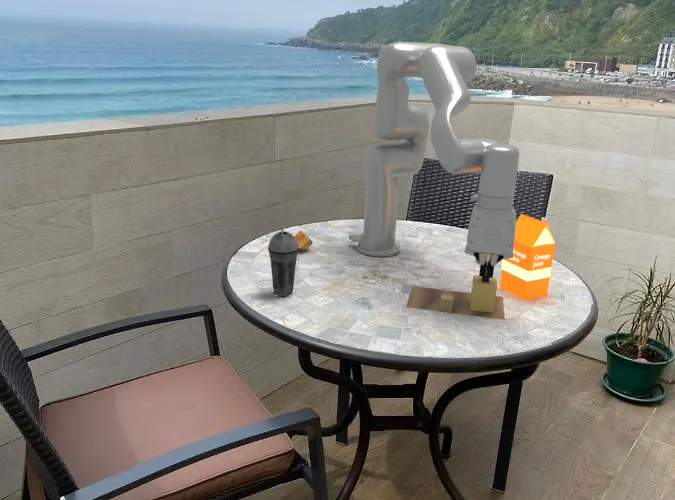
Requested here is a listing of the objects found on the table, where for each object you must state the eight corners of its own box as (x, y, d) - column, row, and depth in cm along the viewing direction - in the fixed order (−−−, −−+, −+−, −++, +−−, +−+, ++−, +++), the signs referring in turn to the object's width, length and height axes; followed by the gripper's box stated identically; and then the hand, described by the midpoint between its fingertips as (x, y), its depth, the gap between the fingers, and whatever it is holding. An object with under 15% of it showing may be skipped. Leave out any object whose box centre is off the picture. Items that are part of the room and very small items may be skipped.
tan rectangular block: (470, 309, 134) (473, 283, 132) (470, 300, 139) (473, 275, 137) (493, 312, 133) (497, 285, 131) (492, 303, 138) (496, 277, 136)
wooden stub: (439, 310, 133) (441, 298, 132) (440, 306, 136) (441, 294, 135) (451, 312, 133) (452, 300, 132) (452, 307, 135) (453, 295, 134)
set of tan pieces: (361, 284, 152) (361, 277, 151) (373, 278, 155) (373, 272, 155) (376, 289, 148) (377, 282, 148) (388, 284, 152) (389, 277, 151)
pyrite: (293, 255, 169) (298, 258, 173) (309, 238, 169) (313, 242, 173) (282, 243, 170) (287, 247, 174) (298, 227, 170) (302, 231, 174)
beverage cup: (302, 290, 145) (304, 212, 138) (291, 301, 138) (291, 220, 132) (275, 285, 147) (275, 208, 140) (263, 296, 140) (262, 216, 134)
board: (405, 311, 135) (406, 307, 135) (411, 290, 147) (412, 285, 147) (504, 324, 131) (504, 319, 130) (502, 301, 143) (502, 296, 142)
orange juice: (523, 304, 141) (535, 225, 135) (498, 291, 149) (508, 215, 142) (547, 299, 145) (559, 221, 138) (521, 286, 152) (532, 211, 145)
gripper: (459, 202, 126) (451, 282, 132) (532, 209, 123) (520, 290, 129) (460, 195, 133) (452, 270, 139) (529, 200, 130) (518, 277, 136)
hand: (485, 279), depth 134 cm, fingers closed
